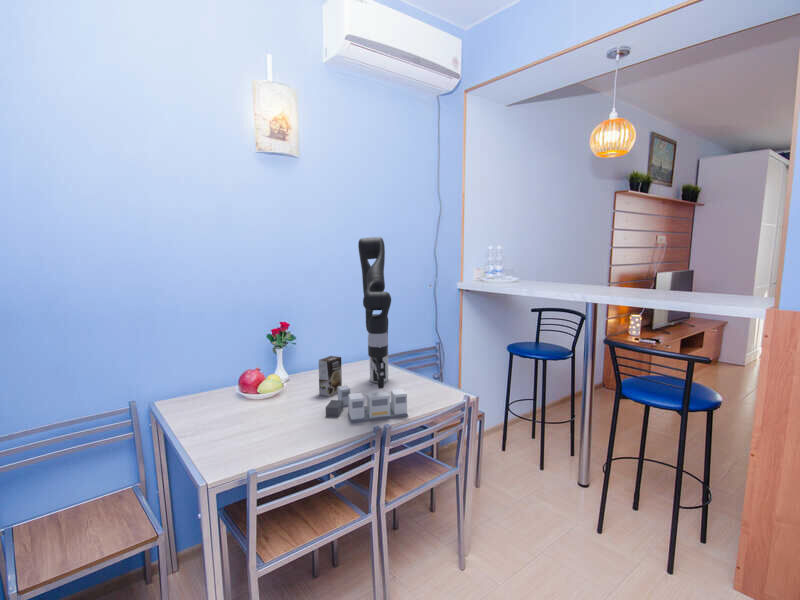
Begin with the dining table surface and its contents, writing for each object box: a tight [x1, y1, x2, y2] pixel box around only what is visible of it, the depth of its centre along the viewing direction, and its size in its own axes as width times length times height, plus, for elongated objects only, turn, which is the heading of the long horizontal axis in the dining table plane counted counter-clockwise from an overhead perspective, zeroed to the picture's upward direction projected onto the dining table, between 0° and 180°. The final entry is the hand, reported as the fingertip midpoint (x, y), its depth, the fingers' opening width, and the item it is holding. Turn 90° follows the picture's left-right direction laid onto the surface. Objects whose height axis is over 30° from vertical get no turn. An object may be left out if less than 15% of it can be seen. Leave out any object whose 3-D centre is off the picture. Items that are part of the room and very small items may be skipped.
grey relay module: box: [337, 384, 351, 407], centre depth 175 cm, size 5×4×7 cm
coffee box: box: [318, 355, 343, 397], centre depth 188 cm, size 9×6×16 cm
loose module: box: [366, 391, 391, 418], centre depth 161 cm, size 5×8×8 cm, turn 106°
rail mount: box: [347, 388, 409, 424], centre depth 163 cm, size 9×22×9 cm, turn 105°
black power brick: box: [325, 399, 344, 418], centre depth 166 cm, size 8×5×4 cm, turn 173°
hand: (378, 384), depth 161 cm, fingers open, 8 cm apart
